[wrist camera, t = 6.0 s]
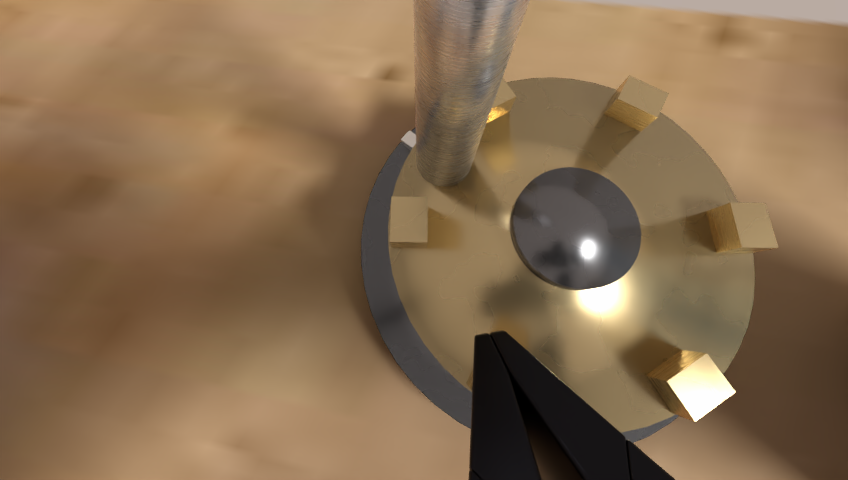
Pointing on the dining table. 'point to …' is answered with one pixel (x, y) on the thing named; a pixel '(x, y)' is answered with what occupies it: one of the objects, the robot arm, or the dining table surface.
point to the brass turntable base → (567, 226)
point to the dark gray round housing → (392, 312)
